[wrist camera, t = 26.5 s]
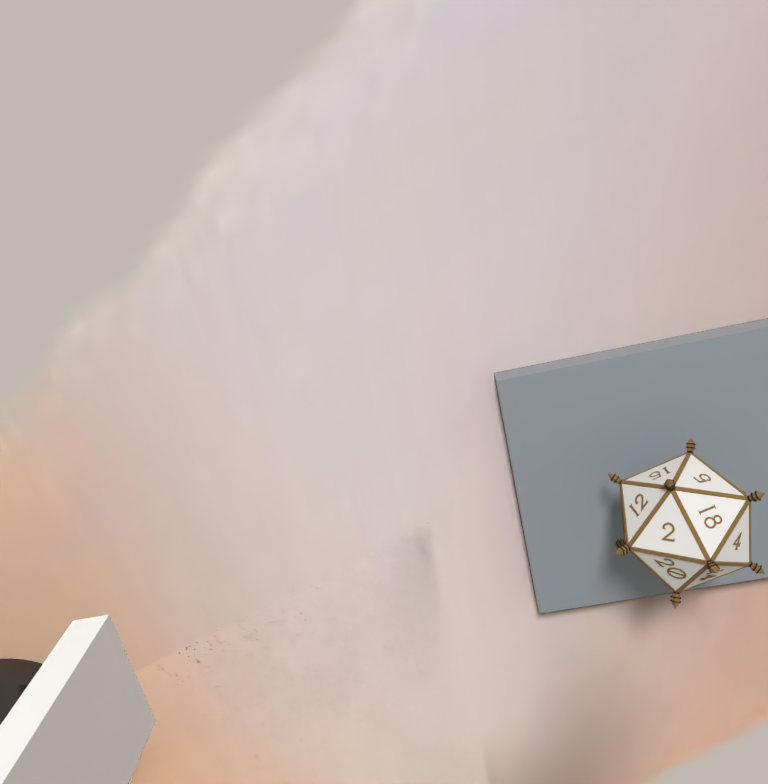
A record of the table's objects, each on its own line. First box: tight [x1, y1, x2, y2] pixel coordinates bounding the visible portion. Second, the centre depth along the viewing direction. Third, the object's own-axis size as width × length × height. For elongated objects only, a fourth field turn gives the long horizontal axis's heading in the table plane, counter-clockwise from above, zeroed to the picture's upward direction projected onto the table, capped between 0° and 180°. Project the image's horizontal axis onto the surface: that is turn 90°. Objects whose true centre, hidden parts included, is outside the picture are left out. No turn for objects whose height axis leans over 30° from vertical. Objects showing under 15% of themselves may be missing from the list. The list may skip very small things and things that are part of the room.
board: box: [494, 318, 768, 613], centre depth 46 cm, size 18×18×2 cm
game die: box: [608, 437, 765, 608], centre depth 41 cm, size 9×8×10 cm
